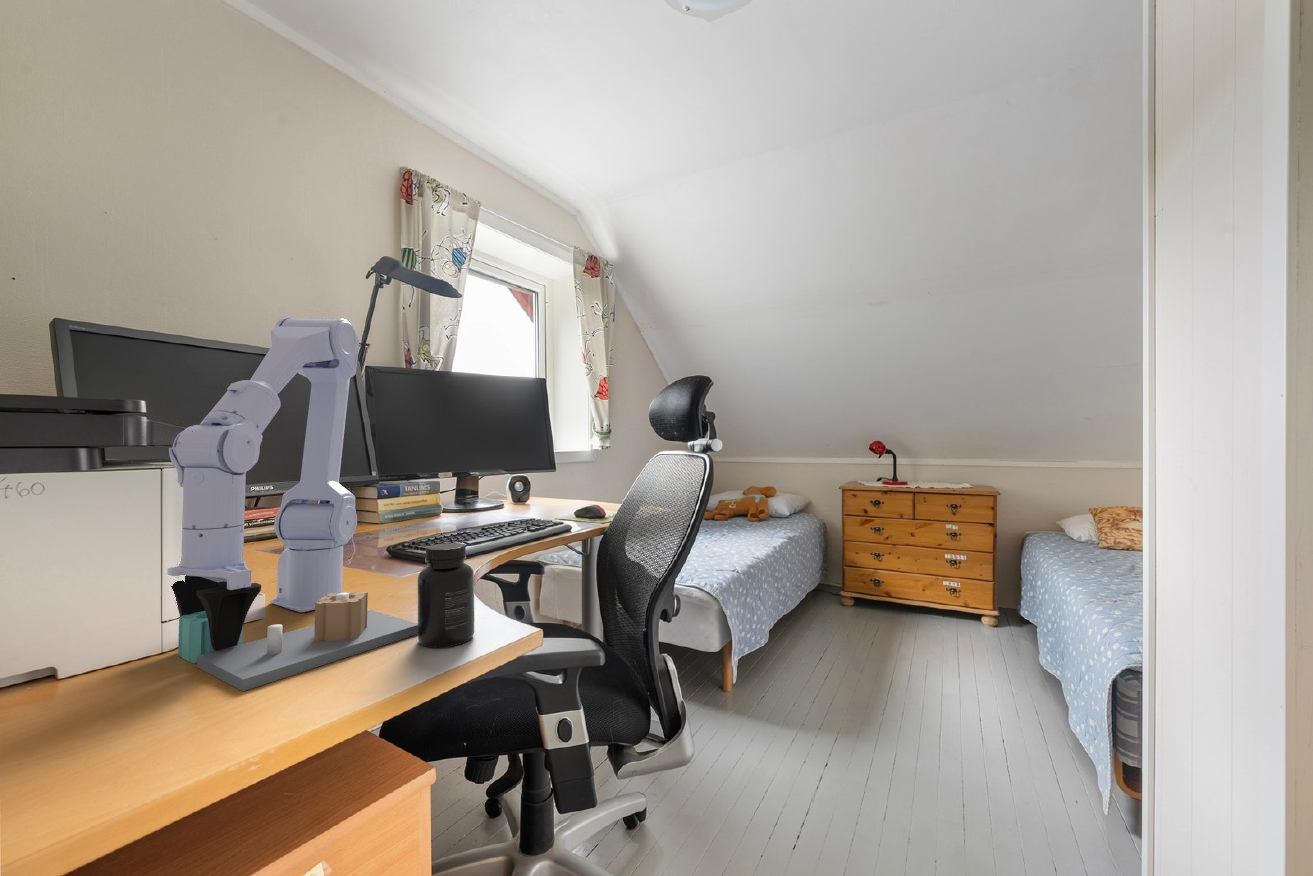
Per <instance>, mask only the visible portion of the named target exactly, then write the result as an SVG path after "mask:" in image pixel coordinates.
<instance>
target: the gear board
mask: <svg viewBox="0 0 1313 876" xmlns="http://www.w3.org/2000/svg"><path fill="white" fill-rule="evenodd" d="M368 594H369V593H368V592H367V591H360V592H358V591H352V592H351V591H350V592H348V591H347V592H342V593H336V594H335V593H330V594H326V596H323V597H322V598H321V599H320V600H318V602H316V603H315V610H314V624H312V625H309V626H305V627H301V628H298V629H295V630H290V631H287V632H283V624H278V623H277V624H271V625H269V626H267V627H266V628H267V633H266V637H262V638H260V639H257V640H253V641H252V640H251V641H248V642H244V643H242V644H240V645H237V646H233V647H229V648H225V649H222V650H218V651H214V652H210V653H206V654H202V655H199V656H197V663H196V668H198V669H200V670H202V671H204V672H205V673H207V674H209V675H211V676H212V677H213V676H214V677H215V678H217V679H219V680H220V681H222V682H224V683H226V684H228V685H230V686H232V687H233V688H235V689H238V690H239V691H241V692H246V691H249V690H252V689H254V688H259V687H261V686H264V685H266V684H267V685H268V684H270V683H272V682H276V681H279V680H282V679H286V678H288V677H291V676H294V675H296V674H300V673H303V672H306V671H310V670H312V669H316V668H319V667H321V666H325V665H327V664H331V663H334V662H337V661H339V660H343V659H346V658H349V657H352V656H354V655H357V654H360V653H363V652H368V651H370V650H374V649H376V648H380V647H382V646H385V645H388V644H391V643H395V642H397V641H400V640H403V639H407V638H410V637H413V636H416V635H418V622H414V621H410V620H407V619H404V618H400V617H396V616H393V615H389V614H386V613H382V612H379V611H376V610H372V609H370V610H368V599H369V597H368V596H369V595H368ZM409 636H410V637H409ZM394 641H395V642H394Z"/></svg>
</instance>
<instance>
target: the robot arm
mask: <svg viewBox="0 0 1313 876" xmlns="http://www.w3.org/2000/svg"><path fill="white" fill-rule="evenodd" d="M270 339H271V347H270V348H269V350H268V351H267V353H266V355H265V356H264V357H263V358H262V361H261V362H260V364H259V365H258V367H256V370H255V371H254V373H253V375H252V376H251V378H250V379H246V380H244V379H243V380H239V381H236V382H232V383H230V385H228V387H227V389H226V390H227V391H226V392H225V393H224V395H223V396H222V397H221V398H220V399H219V400H218V402H217V403H216V404H215V405H214V406H213V408H212V409H211V410H210V411H209V413H208V414H206V415H205V417H204V418H203V419H202V421H201V422H200V423H199V424H193V425H190V426H188V427H186V428H185V429H184V430H182V431H181V432H179V433H178V434H177V435H176V437H175V438H174V440H173V444H172V447H169V448H168V453H169V454H168V455H169V459H170V461H171V463H172V465H173V466H174V468H175V469H176V471H177V483H178V484H179V487H180V488H182V515H181V516H182V519H181V523H182V525H181V553H180V554H181V556H180V557H181V561H180V564H179V566H178V565H177V566H173V567H168V568H167V575H169V576H172V577H177V576H178V577H180V575H186V576H185V582H184V581H183V580H182V581H177V582H175V583H174V584H173V586H171V587H172V589H173V591H174V594H175V597H176V601H177V605H178V607H177V610H178V614H179V617H181V616H183V615H190V614H192V613H197V612H201V611H205V612H206V614H207V618H208V623H209V632H210V639H211V644H212V647H213V650H215V651H218V650H222V649H225V648H229V647H233V646H236V645H237V643H238V641H239V638H240V635H241V631H242V632H243V627H244V625H245V620H246V618H247V616H248V613H249V611H250V608H251V607H252V605H253V603H254V601H255V600H256V598H257V597H258V595H259V594H260V592H261V590H262V584H260V583H257V582H252V568H251V569H250V568H248V566H247V562H246V561H247V560H246V559H244V554H245V553H244V550H245V549H244V548H245V518H246V517H245V513H246V512H245V511H246V481H247V479H246V478H247V477H246V476H247V475H246V474H247V472H248V471H250V470H251V469H252V468H253V467H254V466H255V465H256V464H257V463H258V461H259V457H260V451H261V450H260V449H261V448H260V447H261V443H262V442H263V437H264V436H263V432H264V431H265V430H266V429H267V427H268V426H269V424H270V422H271V421H272V420H273V418H274V417H275V415H276V414H277V412H278V411H279V409H281V406H282V405H281V400H280V397H279V394H280V392H281V391H283V389H284V388H285V386H287V385H288V383H289V382H290V381H292V379H293V378H294V377H295V376H296V375H297V374H299V375H301V376H303V377H305V378H307V379H308V380H309V382H310V383H311V385H310V396H309V406H308V411H307V418H306V419H307V421H306V429H305V436H304V437H305V438H304V446H303V454H302V464H301V471H300V473H301V474H300V480H299V482H298V483H297V484H295V485H294V486H293V487H291V488H290V489H288V490H287V491H285V492H284V493H283V495H282V497H281V498H282V499H281V504H280V507H279V508H278V511H277V513H276V515H275V519H274V522H273V523H274V525H273V526H274V532H275V535H276V536H277V539H278V540H279V541H280V542H281V543H283V548H285V549H284V550H283V551H282V552H281V554H280V555H279V558H278V560H277V573H276V574H277V577H276V579H277V580H276V597H275V598H272V599H269V602H270V603H271V604H274V605H276V606H280V607H282V608H285V609H288V610H291V611H294V612H297V613H305V612H310V611H315V603H316V602H318V600H320V599H321V598H322V597H323V596H326V594H330V593H335V594H336V593H343V569H344V568H343V561H344V545H346V544H348V543H349V541H350V540H351V539H352V537H354V535H355V533H356V530H357V526H358V515H357V511H356V510H357V509H356V496H355V495H354V494H353V493H352V492H350V490H348V489H347V488H345V487H344V486H343V485H342V484H340V474H341V465H342V458H343V457H342V456H343V446H344V438H345V437H344V435H345V427H346V418H347V409H348V408H347V407H348V398H349V390H350V381H351V378H352V377H354V376H355V375H356V373H357V367H358V360H359V359H358V358H359V351H360V350H359V349H360V340H359V337H358V334H357V331H356V330H355V328H354V326H353V325H352V323H351V322H350V321H349V320H348V319H346V318H337V319H335V318H334V319H333V318H332V319H329V318H326V319H324V318H321V319H320V318H292V317H282V318H280V319H279V320H278V321H277V322H276V324H275V326H274V327H273V328H272V329H271V330H270ZM192 431H193V432H192ZM311 501H312V502H311ZM313 501H329V502H331V503H325V502H324V503H323V502H319V503H316V502H315V503H314V502H313ZM309 502H310V503H309ZM177 605H176V606H177Z"/></svg>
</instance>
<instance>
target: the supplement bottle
mask: <svg viewBox="0 0 1313 876" xmlns="http://www.w3.org/2000/svg"><path fill="white" fill-rule="evenodd" d="M466 547H467V546H466V544H464V543H461V542H450V543H447V542H446V543H438V544H432V545H429V546H427V547H426V548H425V558H424V560H425V564H427V565H426V566H425V567H424V568H423V569H421V570H420V572H419V574H418V576H417V623H418V634H417V640H418V642H419V643H420V645H422V646H424V647H426V648H432V649H433V648H439V649H440V648H448V647H453V646H458V645H461V644H464V643H466V642H468V641H469V640H470V639H472V638H473V636H474V633H475V574H474V573H475V572H474V569H473V568H472V566H471V565H469V564H467V563H466V562H465V560H466V559H467V554H466Z"/></svg>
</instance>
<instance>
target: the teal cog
mask: <svg viewBox="0 0 1313 876" xmlns="http://www.w3.org/2000/svg"><path fill="white" fill-rule="evenodd" d="M177 644H178V646H177V647H178V648H177V649H178V652H177V656H178V657H180V658H181V659H183V660H185V661H187V662H190V664H197V656H199V655H202V654H206V653H210V652H214V651H215V650H213V647H212V644H211V639H210V632H209V623H208V618H207V614H206V612H205V611H201V612H197V613H192V614H190V615H183V616H181V617H180V616H179V617H178V643H177ZM240 644H243V630H242V631H241V635H240V638H239V641H238V643H237V645H240ZM237 645H236V646H237Z"/></svg>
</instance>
